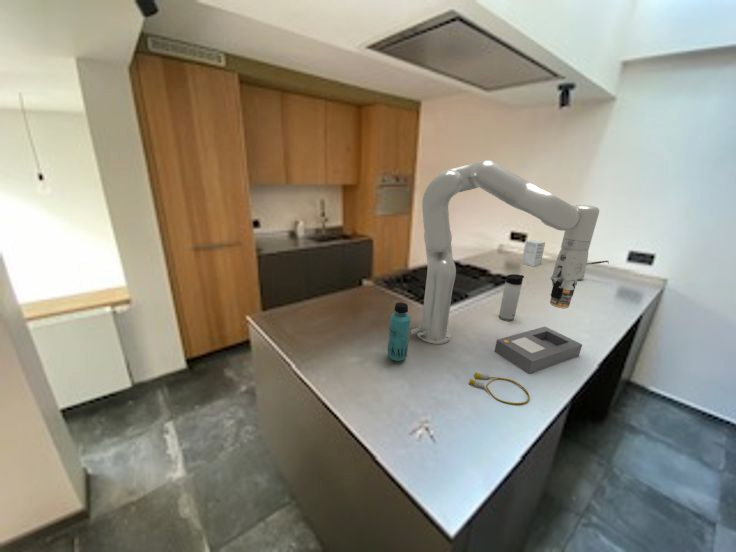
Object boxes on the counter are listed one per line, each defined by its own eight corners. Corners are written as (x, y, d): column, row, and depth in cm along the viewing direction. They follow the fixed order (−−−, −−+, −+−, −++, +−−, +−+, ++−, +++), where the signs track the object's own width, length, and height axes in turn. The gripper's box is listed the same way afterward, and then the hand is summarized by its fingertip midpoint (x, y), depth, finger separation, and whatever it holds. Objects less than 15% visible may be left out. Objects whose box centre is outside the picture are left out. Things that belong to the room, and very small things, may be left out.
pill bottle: (559, 309, 101) (566, 281, 98) (545, 302, 106) (552, 276, 103) (572, 308, 103) (580, 280, 99) (558, 301, 108) (565, 275, 105)
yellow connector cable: (486, 368, 99) (487, 363, 98) (536, 396, 87) (537, 390, 86) (464, 383, 91) (465, 377, 91) (515, 415, 80) (516, 409, 79)
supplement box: (540, 265, 217) (546, 242, 212) (533, 266, 213) (538, 243, 207) (528, 261, 225) (533, 239, 220) (520, 263, 221) (525, 240, 215)
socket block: (529, 373, 96) (532, 360, 95) (494, 350, 108) (496, 338, 106) (578, 355, 107) (582, 343, 106) (542, 336, 119) (545, 325, 117)
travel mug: (516, 322, 130) (526, 278, 123) (500, 320, 131) (509, 276, 125) (512, 316, 136) (522, 273, 129) (497, 314, 137) (505, 272, 130)
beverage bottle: (394, 351, 105) (398, 298, 99) (410, 359, 101) (416, 304, 95) (383, 359, 100) (386, 304, 94) (399, 367, 96) (404, 310, 90)
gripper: (570, 249, 91) (555, 304, 97) (603, 245, 98) (587, 297, 104) (547, 243, 97) (534, 296, 103) (579, 240, 104) (566, 289, 110)
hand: (561, 296), depth 103 cm, fingers closed on pill bottle, 5 cm apart
